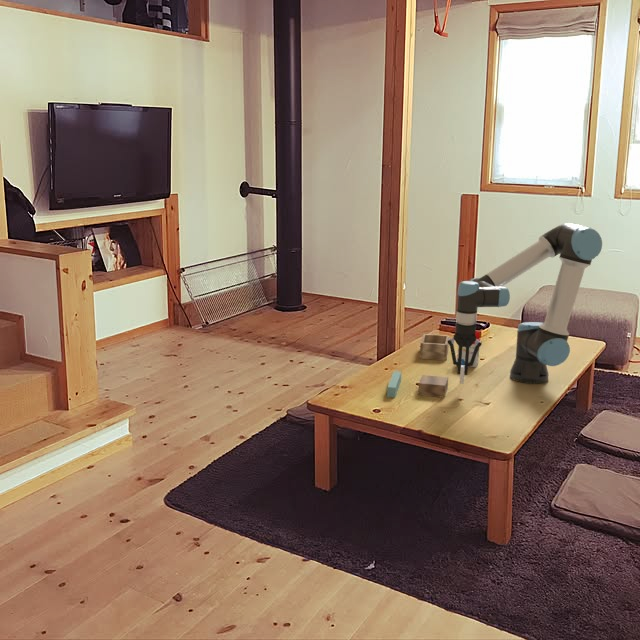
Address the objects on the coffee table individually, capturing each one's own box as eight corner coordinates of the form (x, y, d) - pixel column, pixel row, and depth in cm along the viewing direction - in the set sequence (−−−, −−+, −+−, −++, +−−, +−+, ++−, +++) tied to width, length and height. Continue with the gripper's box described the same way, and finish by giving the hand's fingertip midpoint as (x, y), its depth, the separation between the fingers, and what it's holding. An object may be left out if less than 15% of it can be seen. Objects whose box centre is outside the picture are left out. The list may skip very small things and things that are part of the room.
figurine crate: (448, 350, 357) (449, 335, 355) (446, 360, 342) (447, 344, 341) (422, 348, 359) (423, 333, 358) (419, 358, 345) (420, 343, 343)
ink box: (456, 365, 336) (458, 332, 332) (459, 361, 340) (460, 329, 337) (476, 367, 333) (478, 334, 329) (478, 364, 337) (480, 331, 333)
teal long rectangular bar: (401, 380, 315) (401, 371, 314) (395, 397, 296) (395, 387, 295) (393, 380, 316) (393, 370, 315) (387, 397, 297) (387, 387, 296)
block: (447, 389, 306) (448, 377, 305) (444, 398, 297) (445, 385, 296) (422, 387, 309) (422, 375, 308) (418, 395, 300) (418, 383, 298)
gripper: (483, 321, 296) (479, 381, 302) (448, 319, 298) (444, 378, 304) (483, 326, 289) (478, 387, 295) (447, 323, 291) (443, 384, 297)
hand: (461, 382), depth 299 cm, fingers closed
